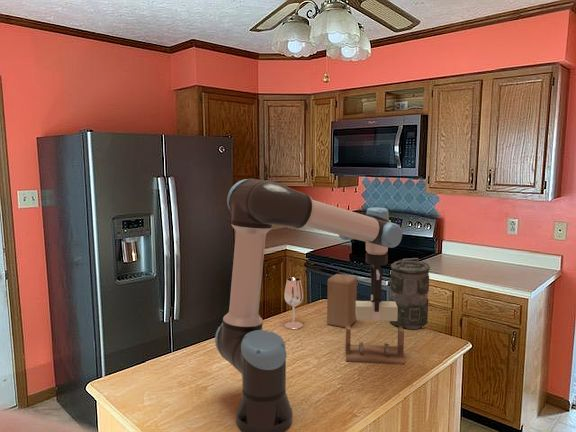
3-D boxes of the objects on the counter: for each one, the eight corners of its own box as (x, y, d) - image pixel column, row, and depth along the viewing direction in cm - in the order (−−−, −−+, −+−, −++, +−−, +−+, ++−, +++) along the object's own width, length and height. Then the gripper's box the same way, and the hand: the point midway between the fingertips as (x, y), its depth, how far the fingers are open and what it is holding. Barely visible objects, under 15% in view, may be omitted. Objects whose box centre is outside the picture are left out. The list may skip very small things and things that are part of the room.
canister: (400, 331, 181) (403, 264, 177) (382, 317, 197) (384, 255, 192) (435, 327, 186) (438, 261, 182) (414, 314, 201) (416, 253, 197)
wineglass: (282, 328, 185) (281, 281, 183) (287, 321, 193) (287, 276, 190) (300, 330, 183) (300, 282, 180) (305, 323, 191) (305, 277, 188)
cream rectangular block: (397, 321, 156) (397, 307, 155) (356, 320, 157) (356, 306, 156) (394, 314, 162) (395, 301, 161) (355, 314, 163) (355, 300, 162)
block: (326, 324, 189) (326, 278, 186) (335, 317, 198) (335, 272, 195) (348, 329, 184) (349, 282, 181) (356, 321, 193) (357, 275, 190)
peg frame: (405, 364, 154) (406, 336, 152) (346, 361, 156) (346, 334, 154) (399, 347, 167) (400, 322, 165) (345, 345, 169) (345, 320, 167)
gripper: (391, 259, 146) (389, 326, 149) (384, 246, 165) (383, 307, 168) (367, 258, 147) (366, 326, 150) (364, 246, 165) (362, 306, 169)
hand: (375, 315), depth 159 cm, fingers closed on cream rectangular block, 6 cm apart
